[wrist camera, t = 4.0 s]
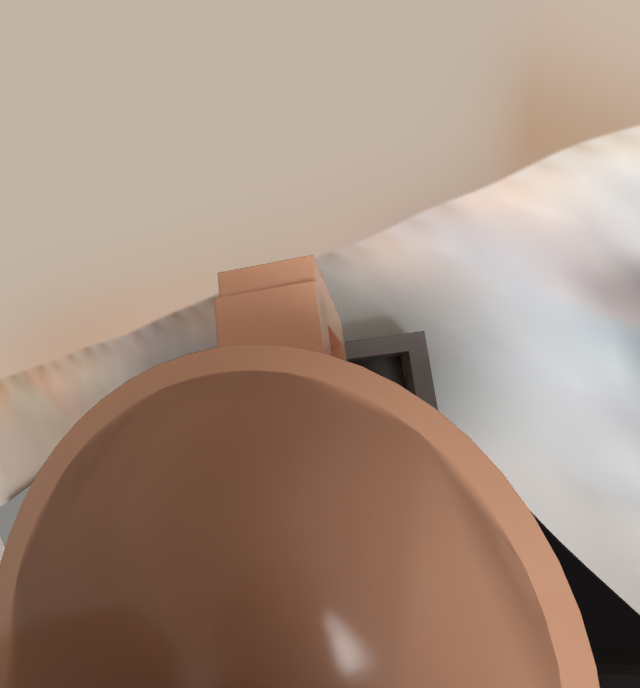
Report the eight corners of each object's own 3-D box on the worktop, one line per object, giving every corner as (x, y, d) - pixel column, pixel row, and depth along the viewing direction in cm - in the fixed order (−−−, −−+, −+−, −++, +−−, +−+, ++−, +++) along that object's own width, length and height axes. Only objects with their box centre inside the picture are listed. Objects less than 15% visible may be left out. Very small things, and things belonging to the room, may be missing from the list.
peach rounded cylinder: (413, 488, 15) (714, 1196, 2) (292, 496, 16) (-26, 1005, 3) (389, 330, 16) (478, 140, 3) (277, 346, 17) (2, 251, 4)
